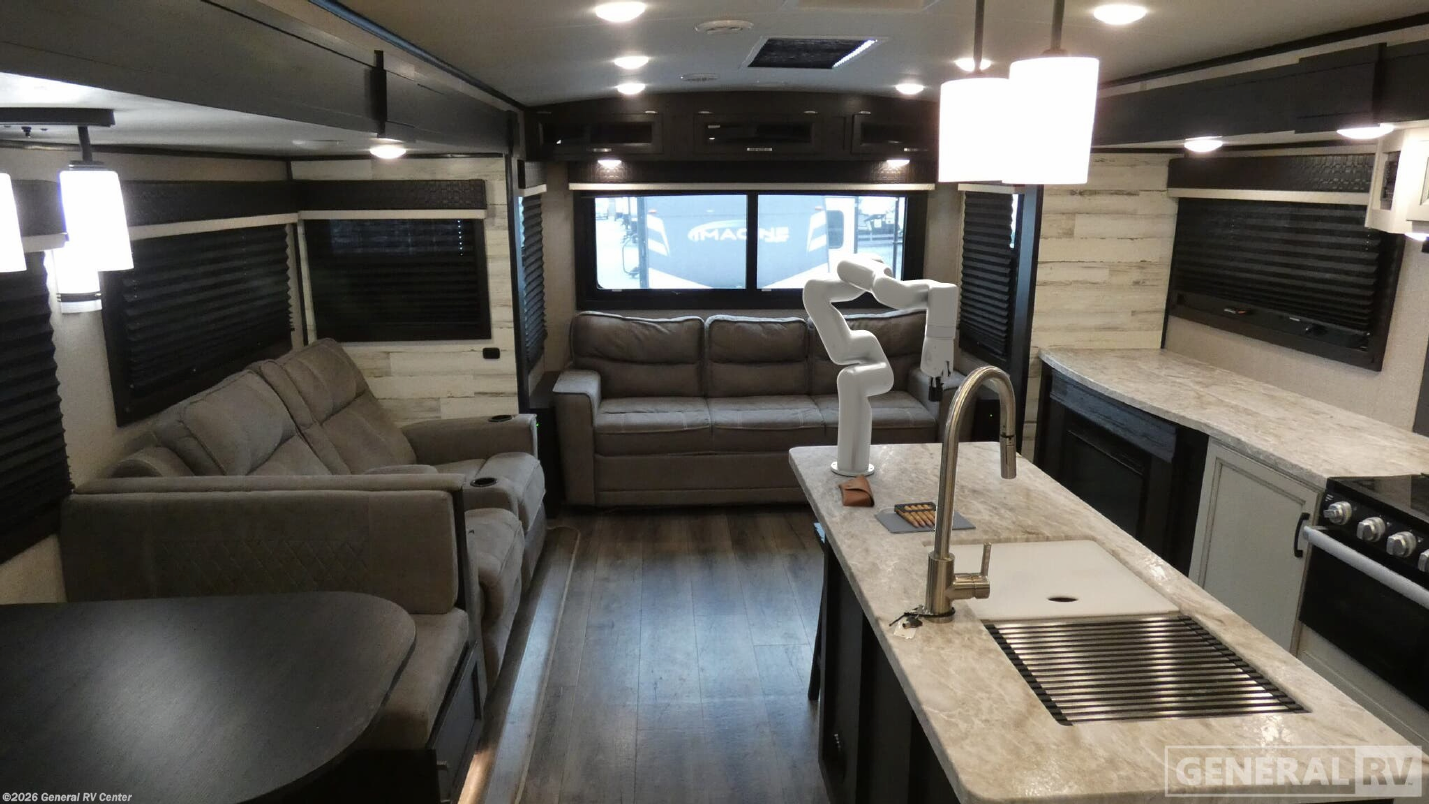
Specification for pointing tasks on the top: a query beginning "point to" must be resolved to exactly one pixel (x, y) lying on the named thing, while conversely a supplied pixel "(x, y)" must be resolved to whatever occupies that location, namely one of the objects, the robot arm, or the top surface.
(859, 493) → the sunglasses case
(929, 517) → the ammunition clip
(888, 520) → the rubber mat
